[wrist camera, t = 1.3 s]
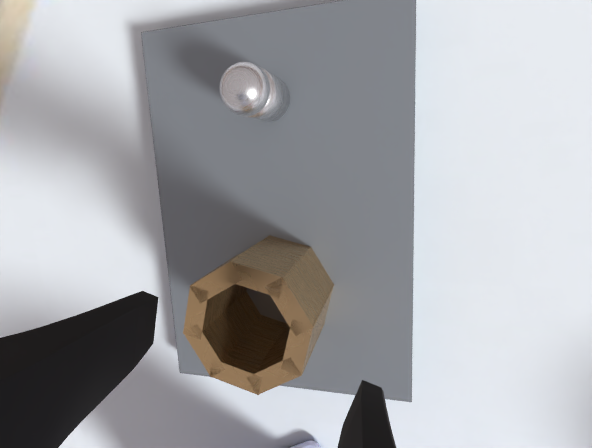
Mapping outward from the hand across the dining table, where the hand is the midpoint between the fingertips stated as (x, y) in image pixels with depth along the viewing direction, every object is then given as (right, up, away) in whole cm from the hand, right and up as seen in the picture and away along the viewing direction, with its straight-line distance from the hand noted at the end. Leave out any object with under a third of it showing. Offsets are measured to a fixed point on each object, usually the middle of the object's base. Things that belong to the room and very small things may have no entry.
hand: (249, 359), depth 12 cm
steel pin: (0, +11, +7) cm, 13 cm away
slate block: (+1, +5, +9) cm, 11 cm away
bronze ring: (+1, +1, +8) cm, 9 cm away
